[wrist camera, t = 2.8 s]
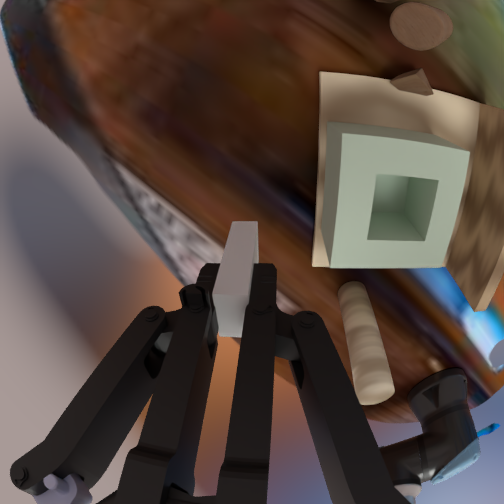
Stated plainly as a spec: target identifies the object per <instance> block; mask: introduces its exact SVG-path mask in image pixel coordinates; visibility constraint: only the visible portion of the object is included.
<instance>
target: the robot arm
mask: <svg viewBox="0 0 504 504" xmlns="http://www.w3.org/2000/svg"><path fill="white" fill-rule="evenodd" d="M258 261H259V253H258V222H257V221H233V222H232V225H231V229H230V232H229V236H228V239H227V243H226V246H225V250H224V253H223V257H222V260H221V263H206V264H205V265H204V266H203V267H202V268H201V270H200V273H199V277H198V278H197V282H196V284H190V285H187V286H185V287H184V288H182V289H181V290H180V292H179V296H180V300H181V303H182V308H181V309H179V310H176V311H171V312H165V311H164V310H163V308H161V307H159V306H150V307H147V308H145V309H143V310H142V311H141V312H140V313H139V314H138V315H137V317H136V318H135V319H134V320H133V321H132V323H131V324H130V326H129V327H128V328H127V329H126V330H125V331H124V333H123V334H122V335H121V337H120V338H119V339H118V340H117V342H116V343H115V344H114V345H113V347H112V348H111V350H110V351H109V352H108V353H107V354H106V356H105V357H104V358H103V360H102V361H101V362H100V364H99V365H98V366H97V368H96V369H95V370H94V371H93V373H92V374H91V375H90V377H89V378H88V379H87V381H86V382H85V384H84V385H83V386H82V388H81V389H80V390H79V392H78V393H77V395H76V396H75V397H74V399H73V400H72V401H71V403H70V404H69V406H68V407H67V408H66V410H65V411H64V412H63V414H62V415H61V417H60V418H59V420H58V421H57V422H56V424H55V425H54V427H53V428H52V430H51V431H50V433H49V434H48V436H47V437H46V439H45V440H44V441H43V442H42V443H40V444H39V445H37V446H36V447H34V448H33V449H32V450H30V451H29V452H28V453H26V454H25V455H24V456H22V457H21V458H19V459H18V460H16V461H15V462H14V463H13V464H12V466H11V469H10V476H11V480H12V482H13V484H14V485H15V486H16V487H17V488H19V489H21V490H22V491H25V492H27V493H29V494H31V495H32V496H33V497H34V499H35V501H36V502H37V504H90V503H91V502H92V495H91V494H90V492H89V489H90V488H92V487H93V486H94V485H95V484H96V483H97V482H98V481H99V479H100V478H101V477H102V475H103V474H104V472H105V471H106V470H107V468H108V466H109V464H110V463H111V461H112V459H113V458H114V456H115V455H116V453H117V451H118V450H119V448H120V446H121V445H122V443H123V441H124V440H125V438H126V436H127V434H128V433H129V431H130V430H131V428H132V427H133V425H134V423H135V422H136V420H137V418H138V417H139V415H140V414H141V412H142V410H143V408H144V407H145V405H146V404H147V402H148V400H149V399H150V397H151V396H152V394H153V396H152V399H151V402H150V405H149V408H148V412H147V415H146V419H145V422H144V425H143V429H142V432H141V436H140V439H139V442H138V445H137V446H136V447H134V448H133V449H131V450H130V451H129V452H128V454H127V457H126V460H125V464H124V467H123V471H122V475H121V478H120V482H119V486H118V490H116V491H115V492H113V493H112V494H110V495H109V496H107V497H106V498H104V499H103V500H101V501H100V502H98V503H96V504H266V502H267V489H268V473H269V459H270V458H269V457H270V443H271V425H272V405H273V385H274V384H273V383H274V360H275V356H277V357H281V358H284V359H287V360H289V364H290V368H291V371H292V374H293V377H294V380H295V384H296V387H297V390H298V393H299V396H300V400H301V403H302V406H303V410H304V413H305V416H306V419H307V423H308V426H309V429H310V432H311V435H312V439H313V442H314V445H315V448H316V451H317V455H318V458H319V462H320V465H321V468H322V471H323V475H324V478H325V481H326V484H327V487H328V491H329V494H330V497H331V500H332V503H333V504H415V498H416V496H417V495H418V494H419V493H420V492H421V489H422V487H421V483H423V482H426V481H428V480H431V483H432V484H437V483H439V482H442V481H444V480H446V479H448V478H450V477H452V476H454V475H456V474H458V473H459V472H461V471H463V470H464V469H466V468H467V467H469V466H470V465H472V464H473V463H474V462H476V460H477V459H478V458H479V456H480V446H479V438H478V437H477V433H476V430H475V426H474V423H473V419H472V416H471V413H470V410H469V407H468V403H467V378H466V376H465V373H464V371H463V370H462V369H460V368H452V369H447V370H444V371H441V372H439V373H436V374H434V375H432V376H430V377H428V378H426V379H425V380H423V381H422V382H420V383H419V384H417V385H416V386H415V387H414V388H413V389H412V390H411V391H410V393H409V394H408V397H407V400H408V404H409V407H410V409H411V410H412V412H413V413H414V415H415V416H416V418H417V419H418V421H419V422H420V424H421V427H422V431H423V434H421V435H418V436H415V437H412V438H409V439H407V440H403V441H400V442H398V443H395V444H391V445H388V446H385V447H384V446H382V447H378V445H377V443H376V440H375V438H374V435H373V433H372V430H371V428H370V426H369V424H368V421H367V419H366V416H365V414H364V411H363V409H362V407H361V404H360V402H359V400H358V397H357V395H356V393H355V391H354V388H353V386H352V384H351V381H350V379H349V377H348V375H347V372H346V370H345V368H344V366H343V363H342V361H341V359H340V357H339V354H338V352H337V350H336V348H335V346H334V343H333V341H332V339H331V337H330V335H329V333H328V330H327V328H326V326H325V324H324V322H323V320H322V318H321V317H320V316H319V315H318V314H317V313H315V312H312V311H301V312H298V313H297V314H295V315H294V316H293V315H289V314H286V313H284V312H282V311H281V310H280V309H279V308H278V307H277V304H276V281H277V269H276V268H275V266H274V265H273V264H268V263H258ZM218 331H219V336H225V337H241V344H240V352H239V359H238V366H237V373H236V380H235V387H234V394H233V402H232V409H231V416H230V423H229V430H228V437H227V444H226V451H225V458H224V462H223V464H222V466H221V469H220V473H219V480H218V486H217V493H216V496H202V497H194V496H193V493H194V487H195V478H194V468H195V462H196V456H197V451H198V446H199V440H200V435H201V429H202V424H203V419H204V413H205V408H206V403H207V398H208V392H209V387H210V382H211V377H212V372H213V367H214V362H215V356H216V351H217V346H218V342H217V333H218ZM419 454H420V455H419ZM423 480H424V481H423Z"/></svg>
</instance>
